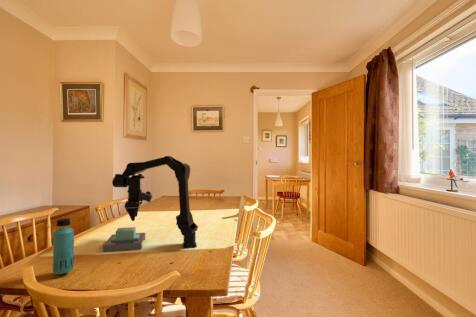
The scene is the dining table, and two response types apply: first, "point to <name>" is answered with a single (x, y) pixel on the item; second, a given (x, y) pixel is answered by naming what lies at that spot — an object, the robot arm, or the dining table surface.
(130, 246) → the stand
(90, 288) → the dining table surface
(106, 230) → the dining table surface
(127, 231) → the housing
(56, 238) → the beverage bottle
